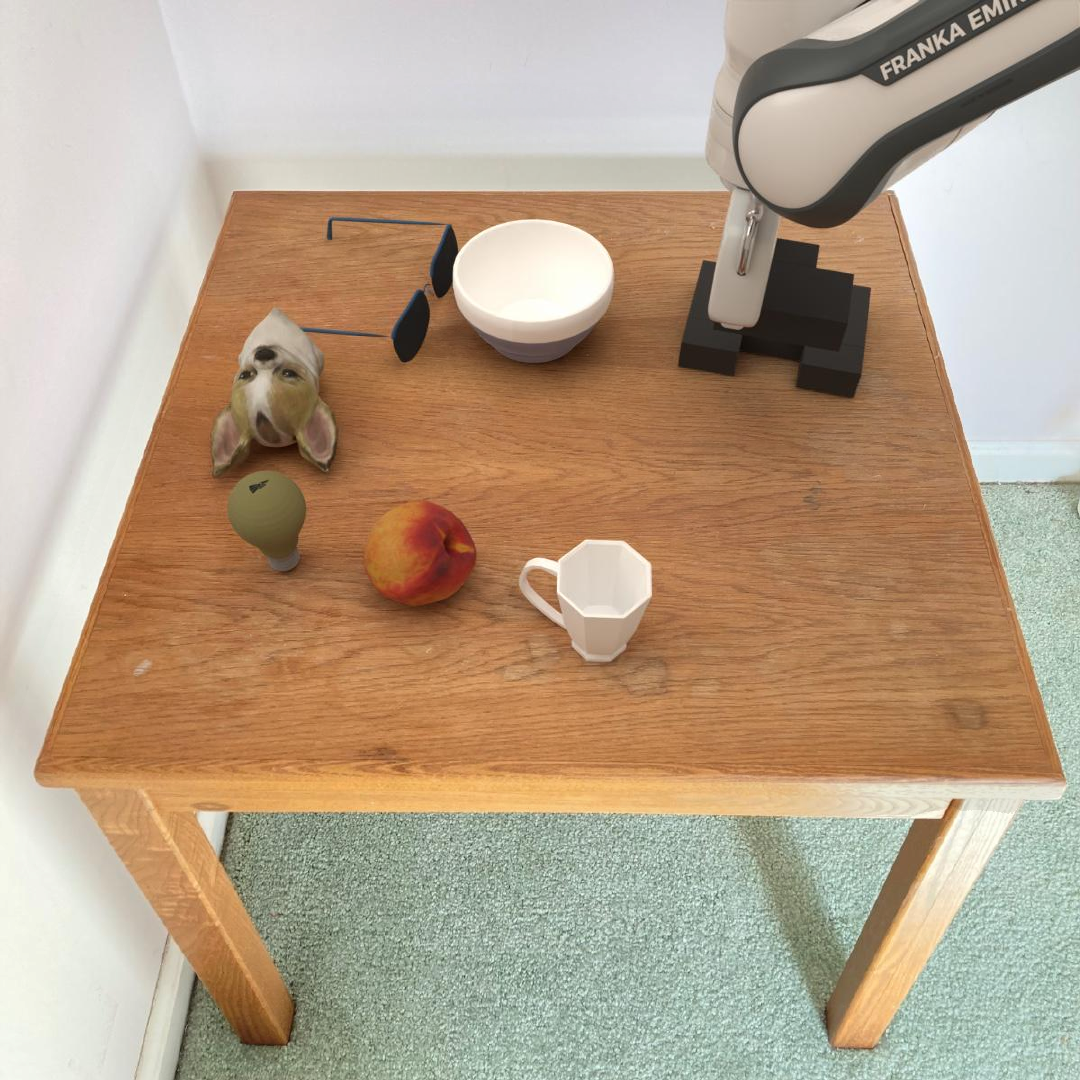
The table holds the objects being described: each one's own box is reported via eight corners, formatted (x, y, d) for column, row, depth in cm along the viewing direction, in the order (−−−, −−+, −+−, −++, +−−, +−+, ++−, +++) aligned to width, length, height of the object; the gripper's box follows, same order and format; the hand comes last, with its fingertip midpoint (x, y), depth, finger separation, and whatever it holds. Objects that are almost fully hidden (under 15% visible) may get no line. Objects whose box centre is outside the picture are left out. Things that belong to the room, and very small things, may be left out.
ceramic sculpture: (334, 289, 88) (322, 426, 79) (350, 360, 95) (341, 491, 87) (208, 295, 87) (184, 432, 79) (234, 365, 95) (214, 497, 86)
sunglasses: (408, 376, 94) (395, 334, 90) (265, 363, 98) (247, 322, 94) (464, 260, 104) (455, 217, 100) (333, 252, 108) (319, 210, 104)
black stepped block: (848, 279, 86) (857, 250, 83) (838, 352, 81) (848, 323, 78) (729, 259, 87) (734, 230, 85) (712, 329, 82) (717, 300, 80)
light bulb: (291, 605, 79) (263, 526, 71) (235, 574, 81) (202, 493, 73) (336, 555, 82) (314, 473, 74) (281, 526, 84) (254, 443, 76)
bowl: (624, 296, 101) (629, 231, 95) (591, 400, 92) (595, 335, 86) (481, 272, 103) (477, 207, 97) (437, 371, 94) (430, 307, 88)
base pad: (863, 312, 99) (871, 287, 97) (853, 398, 92) (861, 374, 90) (699, 284, 102) (703, 259, 99) (677, 366, 95) (681, 342, 92)
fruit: (434, 644, 77) (424, 584, 71) (349, 596, 80) (333, 534, 73) (493, 571, 81) (489, 509, 75) (410, 527, 84) (400, 463, 77)
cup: (624, 693, 75) (632, 635, 68) (501, 642, 77) (497, 582, 71) (659, 619, 78) (670, 557, 72) (540, 573, 81) (541, 509, 74)
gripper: (800, 233, 65) (761, 389, 76) (830, 67, 77) (793, 223, 88) (701, 217, 66) (677, 374, 77) (746, 55, 78) (719, 211, 89)
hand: (739, 292), depth 82 cm, fingers closed on black stepped block, 6 cm apart
